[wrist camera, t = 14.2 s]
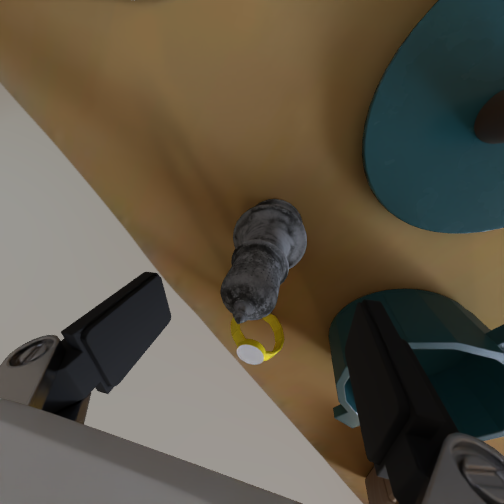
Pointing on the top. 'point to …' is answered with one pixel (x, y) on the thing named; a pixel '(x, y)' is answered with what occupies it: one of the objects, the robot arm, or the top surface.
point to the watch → (254, 350)
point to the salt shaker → (262, 258)
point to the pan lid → (442, 122)
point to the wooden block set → (379, 489)
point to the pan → (436, 358)
